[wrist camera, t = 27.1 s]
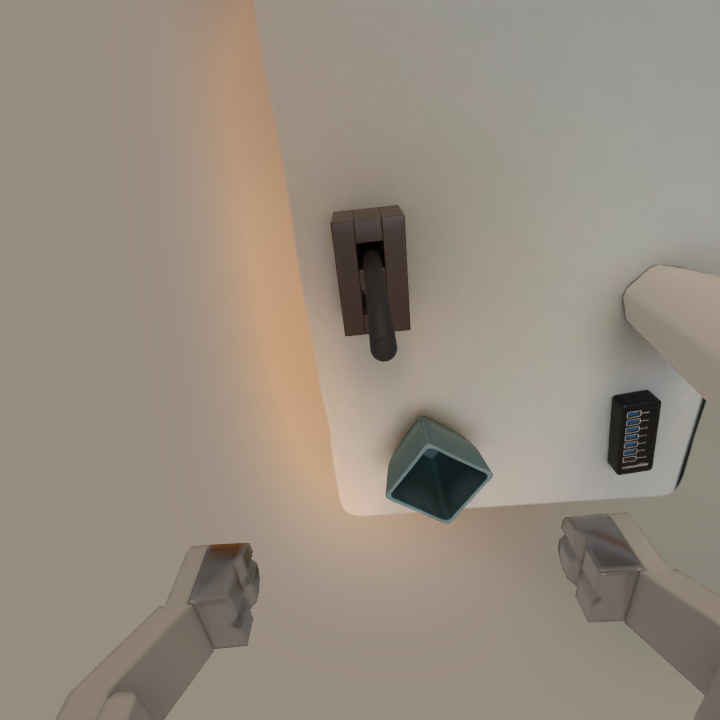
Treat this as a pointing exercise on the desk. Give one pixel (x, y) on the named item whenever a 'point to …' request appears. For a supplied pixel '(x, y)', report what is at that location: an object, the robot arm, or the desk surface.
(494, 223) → the desk surface
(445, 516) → the flower pot
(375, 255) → the stylus
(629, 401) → the multiport hub
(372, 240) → the pen stand
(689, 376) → the cup
